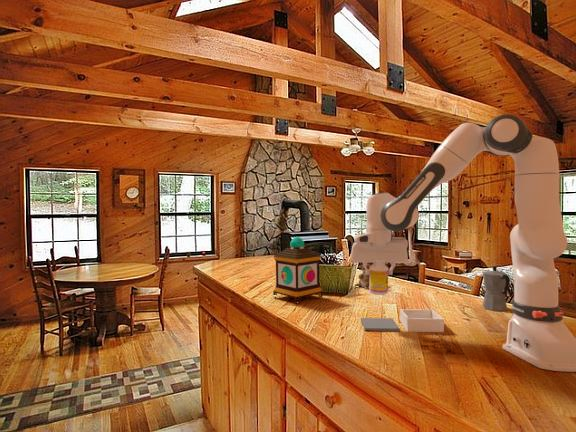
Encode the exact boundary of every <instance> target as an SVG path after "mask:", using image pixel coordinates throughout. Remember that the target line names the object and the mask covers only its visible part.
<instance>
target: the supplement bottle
mask: <svg viewBox="0 0 576 432" xmlns="http://www.w3.org/2000/svg"><path fill="white" fill-rule="evenodd" d="M370 265H371V266H370V284H369V289H368V291H369V293H370V294H372V295H376V296H384V295H385V296H386V295H387V294H388V293H389V275H388V269H389V267H388V266H387V265H386V263H385V262H384V260H381V259H376V262H375V263H372V264H370Z"/></svg>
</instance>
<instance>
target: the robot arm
mask: <svg viewBox="0 0 576 432" xmlns="http://www.w3.org/2000/svg"><path fill="white" fill-rule="evenodd" d="M482 152H483V153H486V154H490V155H492V156H496V157H509V156H510V157H511V158H512V160H513V163H514V203H515V208H516V215H517V222H518V223H517V224H516V225H515V226H513V228H512V230H511V231H510V235H509V240H510V250H511V253H510V254H511V261H512V269H513V285H514V286H513V293H514V294H513V300H512V305H511V308H512V309H511V310H512V313H513V315H512V317H511V319H510V320H509V321H508V323H507V324H508V325H507V333H506V343H503V344H502V349H503V350H505V351H506V352H509V353H510V354H512V355H514V356H516V357H518V358H520V359H521V360H523V361H526V362H527V363H529V364H531V365H533V366H535V367H536V368H539V369H543V370H547V371H556V372H569V373H570V372H571V373H574V372H576V337H575V336H574V335H573V333H572V332H571V331H570V330H569V328H568V327H567V325H566V324H565V322H564V321H563V319H564V318H563V317H565V315H563V314H565V312H563V311H562V310H561V306H560V305H559V277H558V275H557V271H556V267H555V261H554V259H556V258H558V257H560V256H562V255H563V254H564V252H565V251H566V249H567V247H568V237H567V235H566V233H565V230H564V228H565V227H564V221H563V216H562V211H561V205H560V165H559V163H560V162H559V155H558V151H557V147H556V144H555V142H554V141H553V140H552V139H550V138H547V137H543V136H541V137H539V136H537V137H533V133H532V130H531V131H530V129H529V127H528V126H527V124H526V123H525V122H524V120H522V119H521V118H520V117H519V116H517V115H514V114H510V113H505V114H500V115H498V116H495V117H494V118H493V119H491V120H490V121H489V122H488V123H487V125H486V126H480V125H478V124H476V123H473V122H464V123H461V124H459V126H458V127H456V128H455V129H454V130H453V131H452V132H451V133H450V134H449V135H448V136H447V137H446V138H445V139H444V140H443V141H442V142H441V144H440V145H438V147H437V148H436V150H435V151H434V152H433V153H432V155H431V157H430V158H429V160H428V161H427V163H426V165H425V166H424V168H422V170H421V172H420V173H419V174H418V175H417V177H416V178H415V179H414V180H413V181H412V182H411V184H410V185H409V186H407V188H406V189H405V190H404V191H403V192H402V193H401V195H399V196H398V197H395V196H393V195H392V194H390V193H389V192H385V191H383V192H377V193H373V194H371V195H369V197H368V198H367V202H366V220H367V225H366V232H363V233H360V234H356V235H354V242H353V244H352V246H351V250H350V251H351V252H350V260H351V262H352V263H362V267H363V266H364V268H365V269H366V275H370V269H367V267H366V265H367V264H370V263H372V264H373V263H375V262H376V259H381V260H384V262H385V264H386V263H388V264H389V263H390V265H391V266H390V268H388V276H393V270H394V269H395V267H396V266H397V265H396V264H397V263H398V264H399V263H403V264H404V263H407V262H408V259H409V258H408V257H409V256H408V247H409V246H408V245H409V241H408V240H407V238H405V237H403V236H399V237H398V236H392V232H401V231H404V230H405V229H408V228H411V227H413V226H414V225H415V224H417V222H418V220H419V218H420V212H419V210H418V206H420V204H421V203H422V202H423V201H424V200H425V198H426V197H428V196H429V194H430V193H431V192H432V191H433V190H434V189H436V188H437V187H439V186H440V185H442V184H444V183H447V182H449V181H451V180H453V179H455V178H456V177H457V176H459V175H460V174H461V173H462V172H463V171H464V170H465V169H467V167H468V166H469V165H470V163H471V162H472V161H473V160H474V159H475V158H476V156H478V155H479V154H480V153H482Z"/></svg>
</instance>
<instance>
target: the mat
mask: <svg viewBox="0 0 576 432" xmlns="http://www.w3.org/2000/svg"><path fill="white" fill-rule="evenodd" d="M360 322H361V324H363V325H362V327H363V326H364V327H363V330H364V329H365V330H378V331H377V332H401V331H400V329H401V328H400V327H399V326H398V324H397V323H396V322H395V320H394V318H392V317H386V318H385V317H361V318H360ZM365 330H364V331H365Z"/></svg>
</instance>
